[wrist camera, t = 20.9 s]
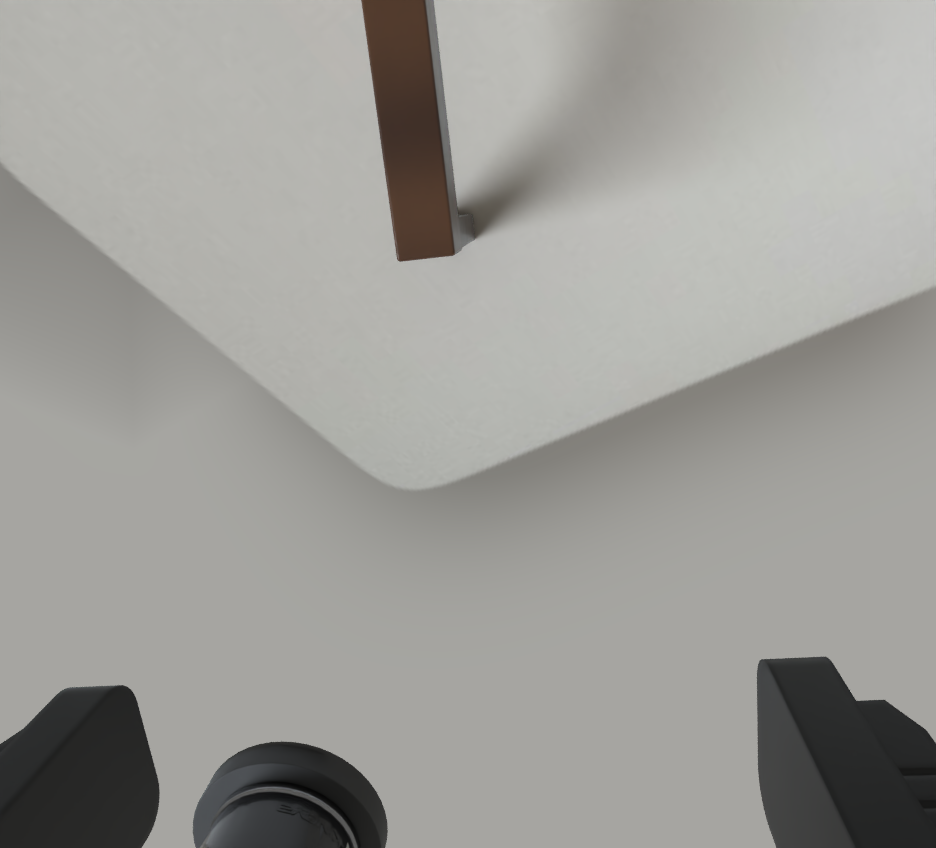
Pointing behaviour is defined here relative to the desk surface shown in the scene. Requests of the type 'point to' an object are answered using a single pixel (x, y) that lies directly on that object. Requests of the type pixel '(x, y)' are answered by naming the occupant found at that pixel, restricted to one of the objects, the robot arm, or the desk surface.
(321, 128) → the desk surface
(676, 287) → the desk surface
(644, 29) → the desk surface
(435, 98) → the brown disc on stem
